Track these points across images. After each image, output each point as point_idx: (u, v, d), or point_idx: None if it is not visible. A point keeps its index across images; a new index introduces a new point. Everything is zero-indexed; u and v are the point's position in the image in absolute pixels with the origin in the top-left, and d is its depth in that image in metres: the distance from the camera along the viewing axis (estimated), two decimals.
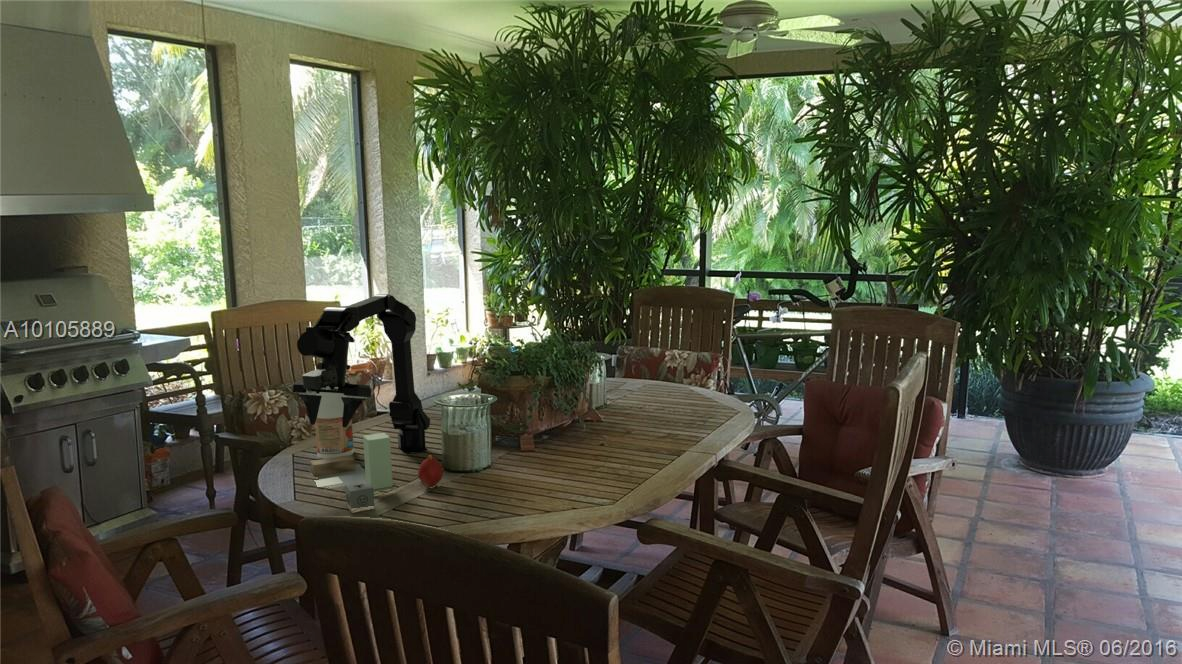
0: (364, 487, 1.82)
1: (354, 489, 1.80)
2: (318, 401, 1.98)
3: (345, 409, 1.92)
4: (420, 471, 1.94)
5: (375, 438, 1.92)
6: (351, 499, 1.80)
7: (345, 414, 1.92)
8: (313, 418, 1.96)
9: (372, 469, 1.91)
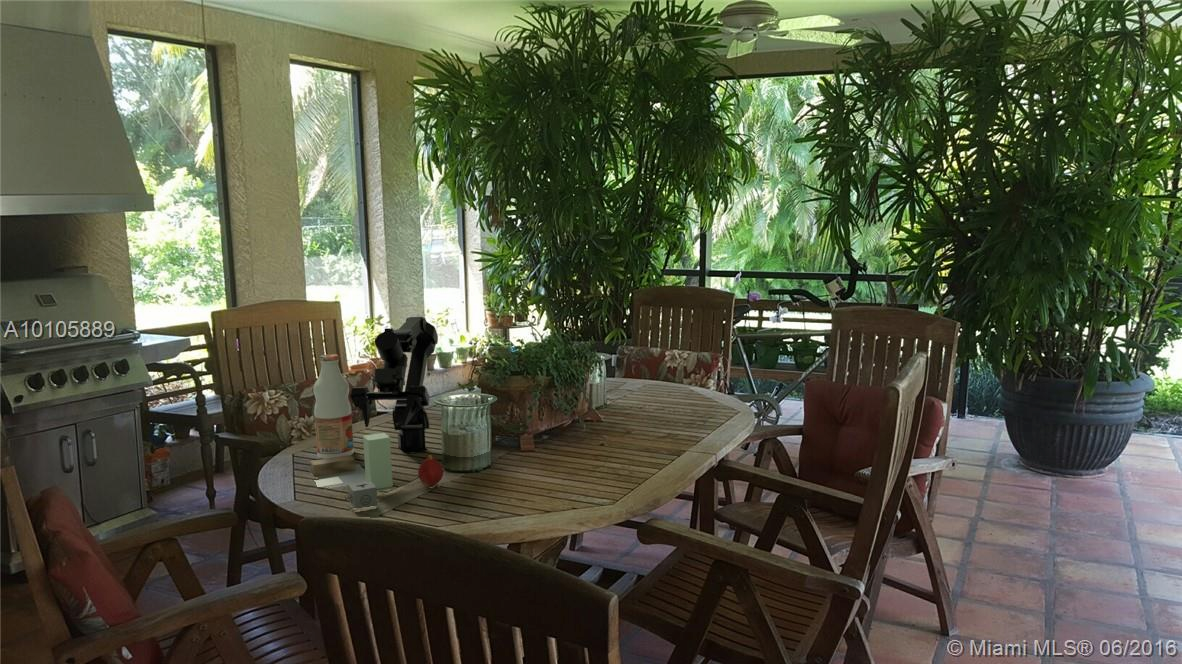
0: (367, 487, 1.82)
1: (357, 489, 1.81)
2: (370, 410, 2.06)
3: (408, 408, 2.03)
4: (420, 471, 1.94)
5: (375, 438, 1.92)
6: (354, 499, 1.80)
7: (407, 412, 2.02)
8: (367, 420, 2.02)
9: (372, 469, 1.91)
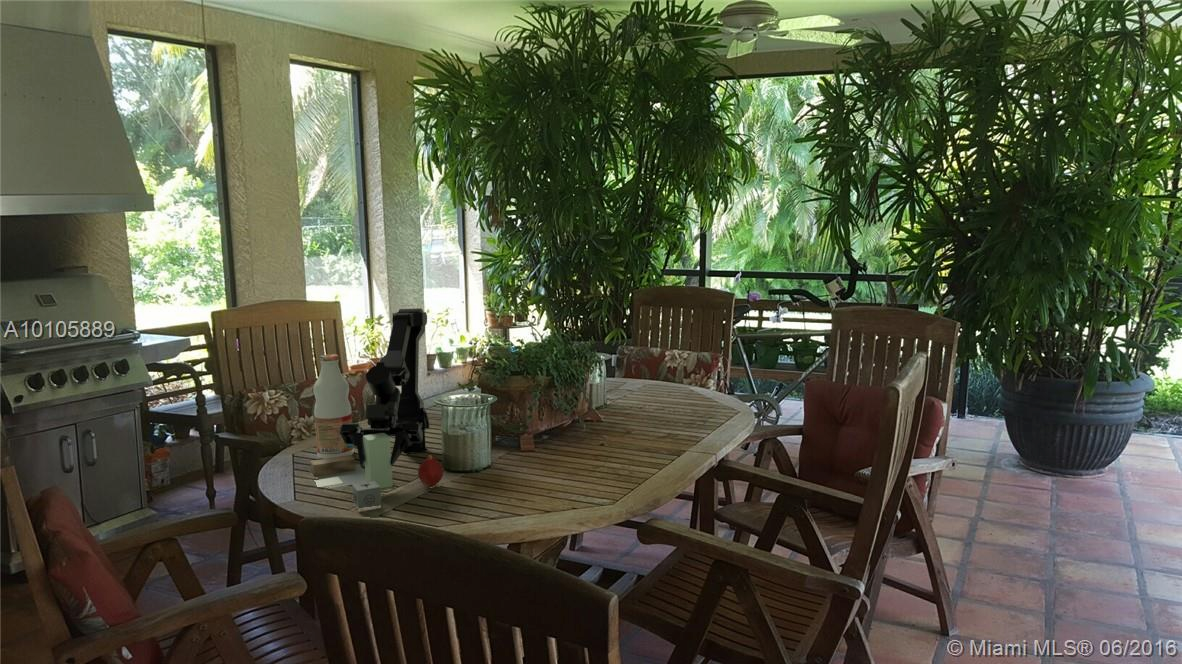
0: (371, 486, 1.82)
1: (361, 488, 1.81)
2: None
3: (396, 445, 1.94)
4: (420, 471, 1.94)
5: (375, 438, 1.92)
6: (358, 498, 1.80)
7: (395, 450, 1.94)
8: (363, 459, 1.94)
9: (372, 469, 1.91)
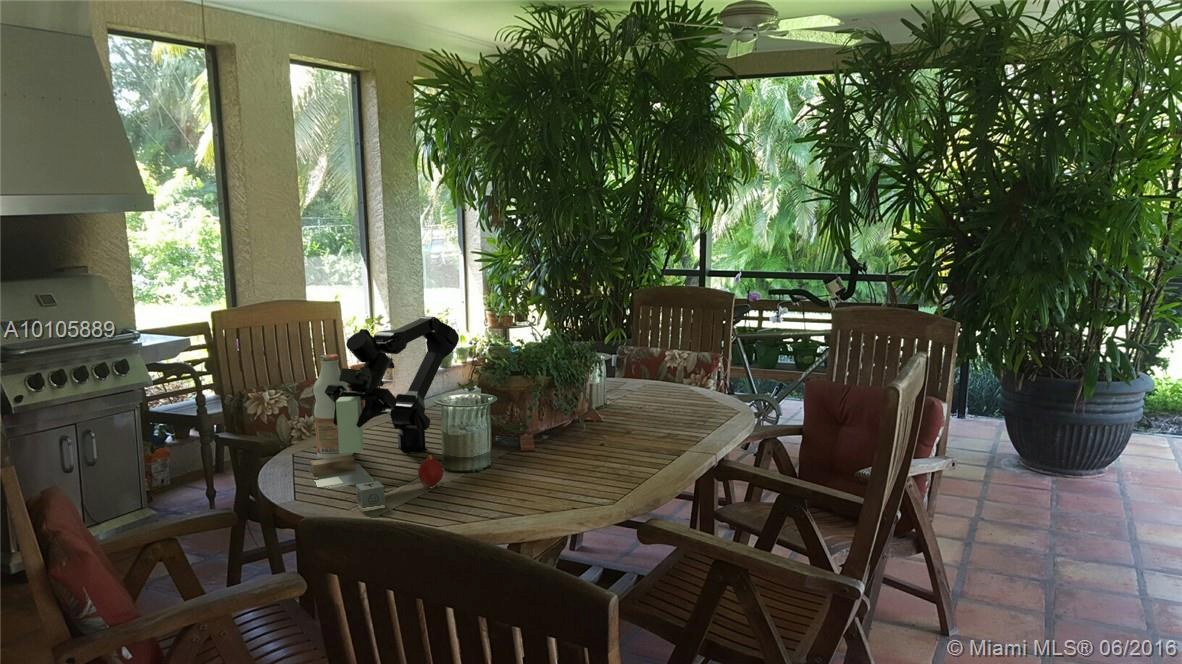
0: (375, 486, 1.82)
1: (365, 488, 1.81)
2: None
3: (364, 409, 2.03)
4: (420, 471, 1.94)
5: (344, 400, 2.02)
6: (362, 498, 1.80)
7: (363, 414, 2.02)
8: None
9: (339, 429, 2.02)
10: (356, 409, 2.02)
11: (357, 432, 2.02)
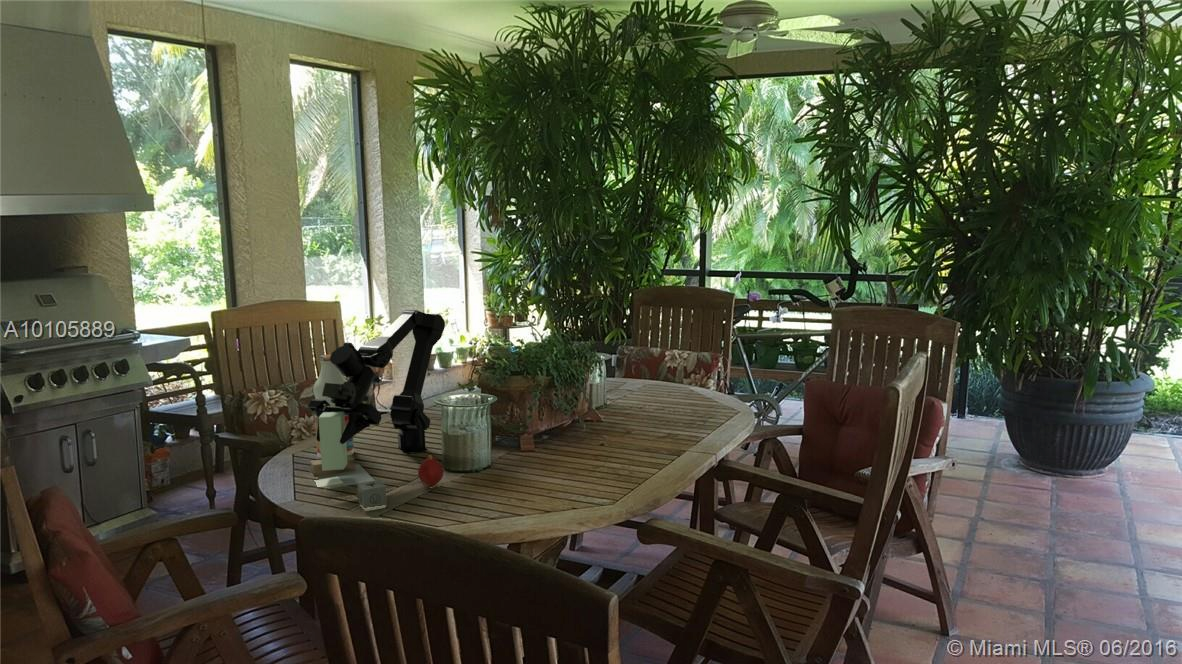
0: (376, 486, 1.82)
1: (367, 488, 1.81)
2: None
3: (348, 425, 1.98)
4: (420, 471, 1.94)
5: (327, 416, 1.97)
6: (364, 498, 1.80)
7: (346, 430, 1.97)
8: None
9: (322, 445, 1.97)
10: (339, 425, 1.96)
11: (340, 449, 1.97)
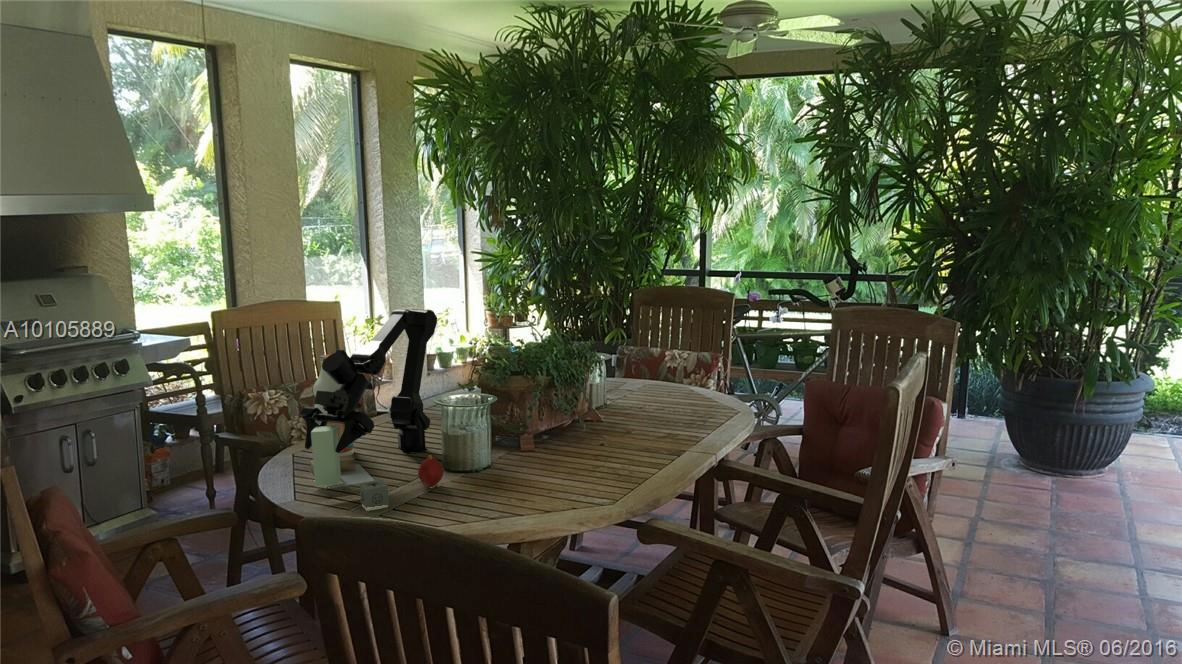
0: (379, 485, 1.83)
1: (369, 487, 1.81)
2: None
3: (344, 434, 1.95)
4: (420, 471, 1.94)
5: (319, 430, 1.95)
6: (366, 497, 1.80)
7: (342, 439, 1.94)
8: (309, 443, 1.98)
9: (315, 460, 1.95)
10: (332, 440, 1.94)
11: (333, 463, 1.95)
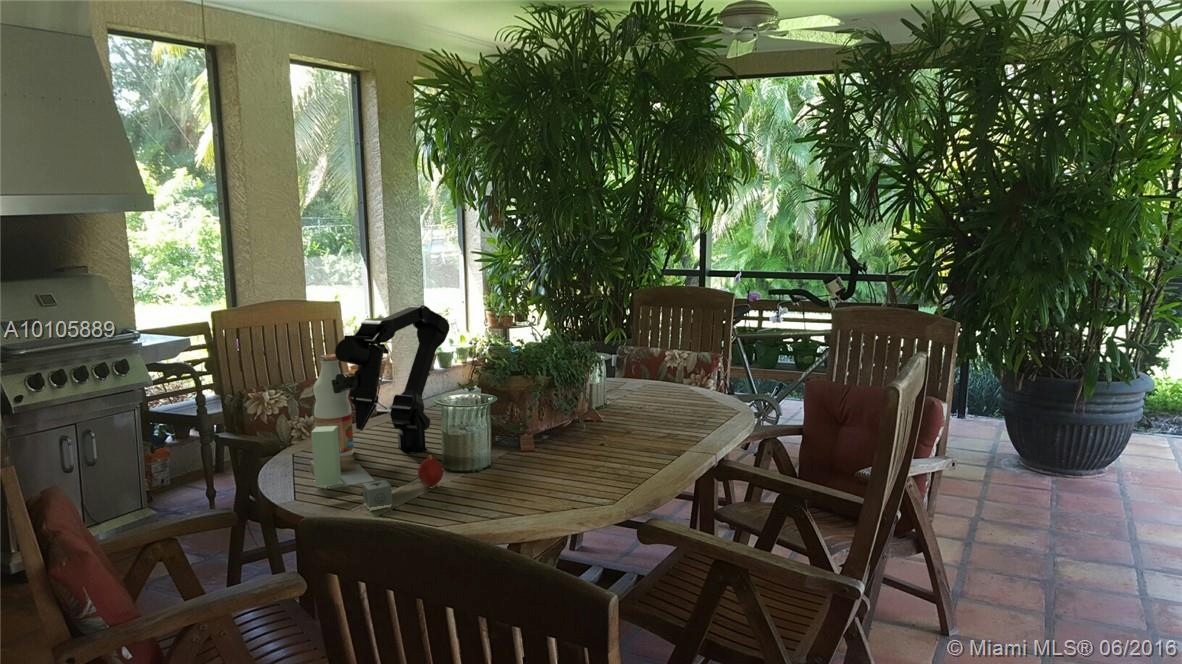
0: (382, 485, 1.83)
1: (372, 487, 1.81)
2: (370, 409, 2.14)
3: None
4: (420, 471, 1.94)
5: (320, 430, 1.95)
6: (369, 497, 1.81)
7: None
8: None
9: (315, 460, 1.95)
10: (332, 440, 1.94)
11: (333, 463, 1.95)
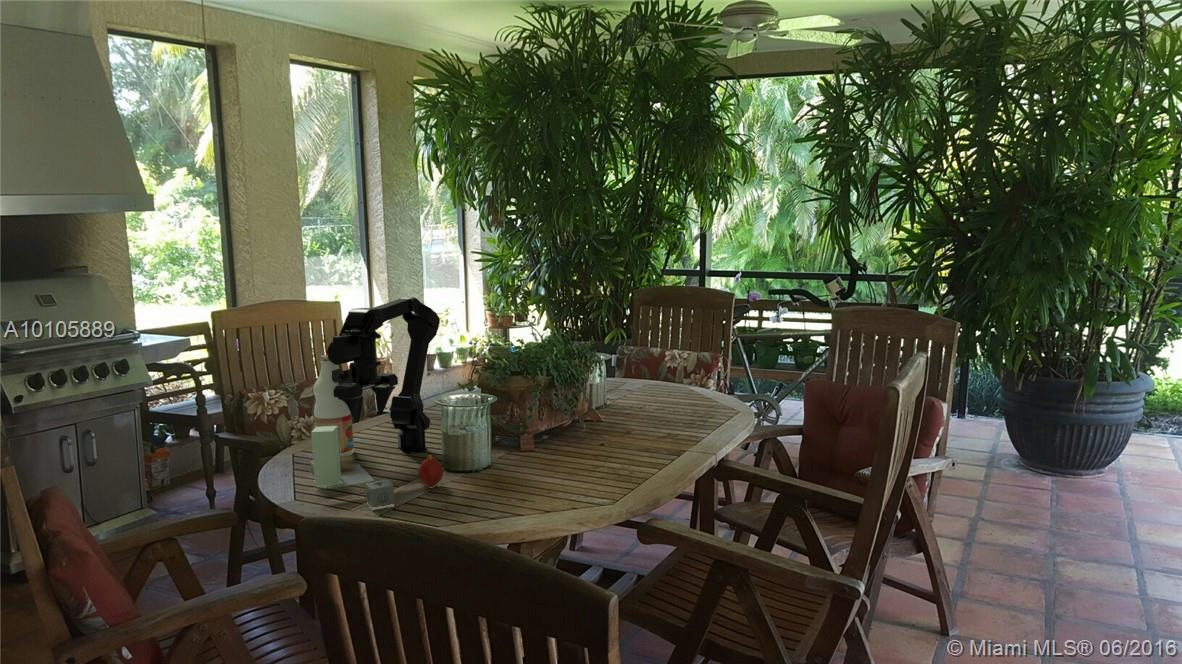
0: (384, 485, 1.83)
1: (374, 487, 1.82)
2: (385, 393, 2.14)
3: None
4: (420, 471, 1.94)
5: (320, 430, 1.95)
6: (372, 497, 1.81)
7: None
8: (379, 409, 2.15)
9: (315, 460, 1.95)
10: (332, 440, 1.94)
11: (333, 463, 1.95)
